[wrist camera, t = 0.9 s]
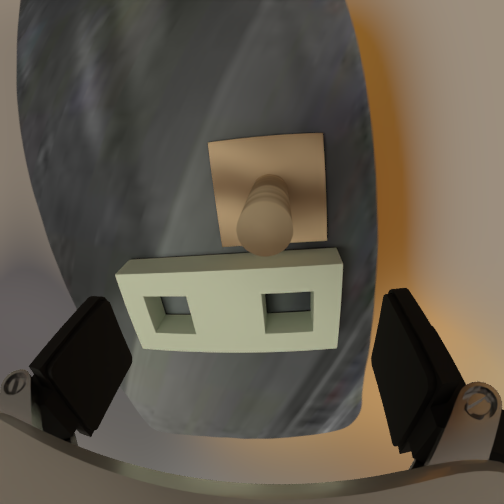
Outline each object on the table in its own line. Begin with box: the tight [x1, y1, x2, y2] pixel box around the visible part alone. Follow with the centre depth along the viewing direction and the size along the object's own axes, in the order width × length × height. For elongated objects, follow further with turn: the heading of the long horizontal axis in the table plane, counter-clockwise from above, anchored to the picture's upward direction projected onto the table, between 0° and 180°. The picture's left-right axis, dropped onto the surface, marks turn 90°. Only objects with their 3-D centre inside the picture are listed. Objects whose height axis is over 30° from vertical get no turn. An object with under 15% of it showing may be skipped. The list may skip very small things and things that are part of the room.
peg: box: [236, 174, 293, 257], centre depth 21 cm, size 3×3×10 cm
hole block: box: [115, 248, 343, 352], centre depth 29 cm, size 10×22×4 cm, turn 96°
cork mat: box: [208, 133, 327, 247], centre depth 25 cm, size 10×10×1 cm
